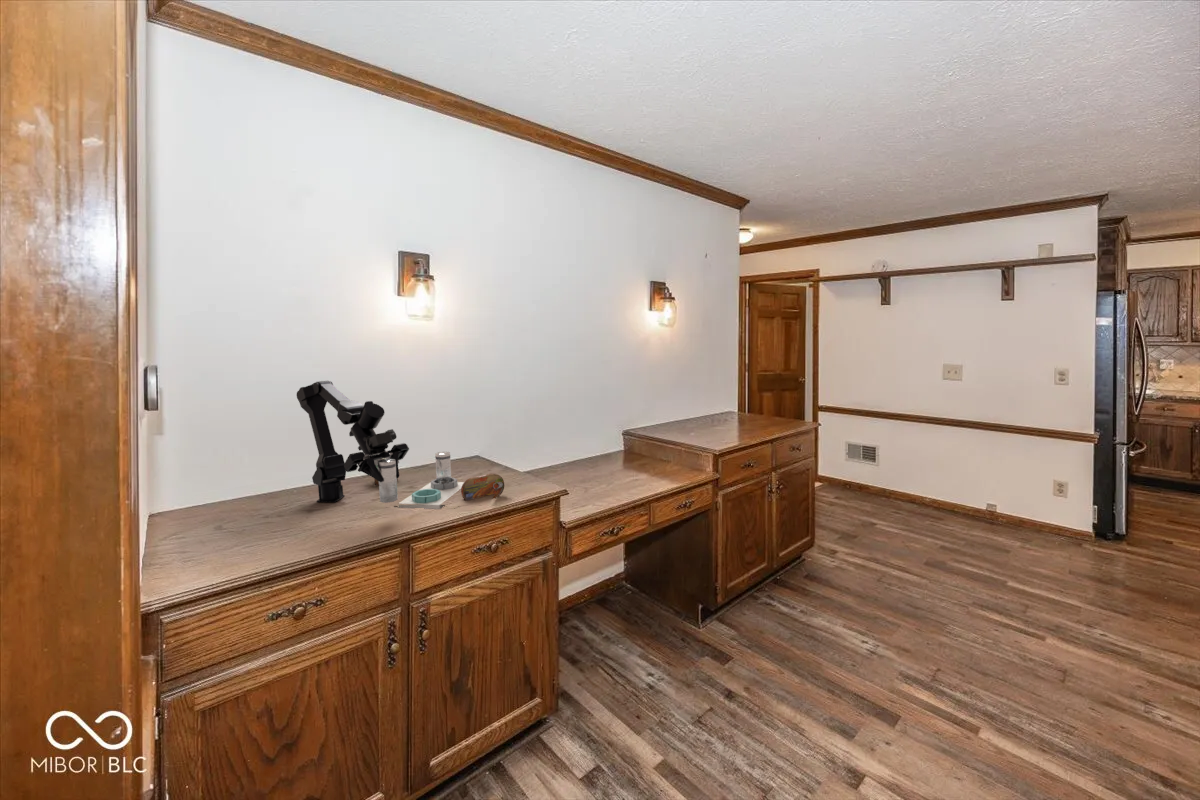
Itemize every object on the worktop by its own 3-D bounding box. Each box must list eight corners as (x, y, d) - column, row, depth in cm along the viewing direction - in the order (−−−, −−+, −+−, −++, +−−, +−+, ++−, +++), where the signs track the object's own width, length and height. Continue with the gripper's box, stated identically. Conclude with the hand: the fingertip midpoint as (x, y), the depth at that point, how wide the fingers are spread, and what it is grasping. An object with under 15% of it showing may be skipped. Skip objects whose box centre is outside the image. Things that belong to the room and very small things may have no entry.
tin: (464, 505, 173) (463, 480, 172) (460, 503, 176) (459, 478, 174) (505, 496, 183) (504, 472, 182) (500, 494, 185) (500, 470, 184)
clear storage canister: (376, 502, 157) (374, 463, 156) (383, 497, 162) (381, 458, 161) (394, 502, 157) (391, 463, 156) (400, 497, 162) (398, 458, 161)
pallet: (398, 507, 171) (397, 497, 171) (432, 485, 196) (432, 475, 196) (439, 509, 170) (439, 498, 169) (469, 486, 194) (468, 477, 194)
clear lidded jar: (434, 488, 187) (433, 455, 185) (439, 484, 192) (437, 451, 190) (449, 488, 187) (447, 454, 185) (453, 484, 192) (451, 451, 190)
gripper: (346, 426, 151) (370, 470, 146) (404, 417, 166) (427, 457, 161) (333, 450, 157) (356, 493, 152) (390, 439, 172) (413, 477, 167)
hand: (390, 479), depth 158 cm, fingers closed on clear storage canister, 5 cm apart
